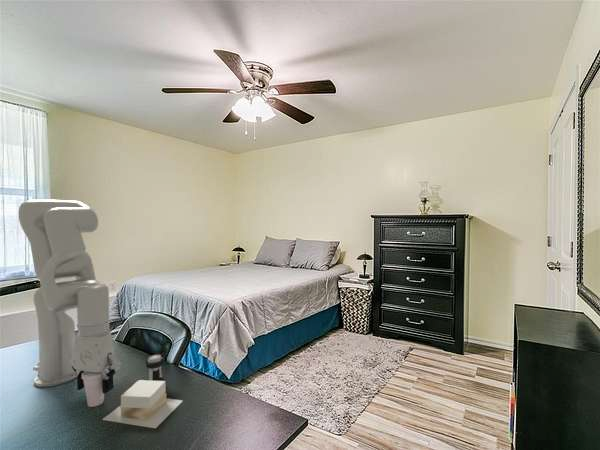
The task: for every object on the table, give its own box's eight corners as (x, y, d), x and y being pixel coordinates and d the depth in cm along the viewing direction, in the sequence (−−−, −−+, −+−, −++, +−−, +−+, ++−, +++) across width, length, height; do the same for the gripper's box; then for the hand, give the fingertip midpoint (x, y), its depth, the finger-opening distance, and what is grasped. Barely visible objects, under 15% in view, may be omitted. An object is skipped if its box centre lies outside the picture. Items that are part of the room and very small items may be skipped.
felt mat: (102, 421, 82) (101, 419, 82) (135, 395, 94) (135, 394, 94) (155, 430, 79) (155, 428, 79) (183, 402, 90) (183, 400, 90)
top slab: (121, 407, 83) (120, 396, 82) (138, 390, 90) (138, 380, 90) (150, 408, 82) (150, 397, 82) (165, 391, 90) (165, 381, 90)
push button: (148, 397, 93) (147, 364, 93) (138, 392, 96) (137, 359, 95) (168, 387, 98) (167, 355, 98) (158, 382, 101) (157, 351, 101)
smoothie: (80, 413, 85) (79, 363, 85) (84, 401, 91) (82, 354, 91) (108, 407, 88) (106, 358, 88) (109, 395, 94) (108, 349, 94)
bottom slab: (120, 416, 83) (120, 405, 83) (142, 399, 91) (141, 389, 91) (147, 420, 82) (146, 409, 81) (166, 402, 89) (166, 392, 89)
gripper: (56, 331, 87) (58, 393, 88) (109, 335, 84) (110, 400, 84) (80, 322, 95) (81, 379, 95) (130, 326, 91) (131, 385, 91)
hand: (95, 388), depth 90 cm, fingers open, 7 cm apart
